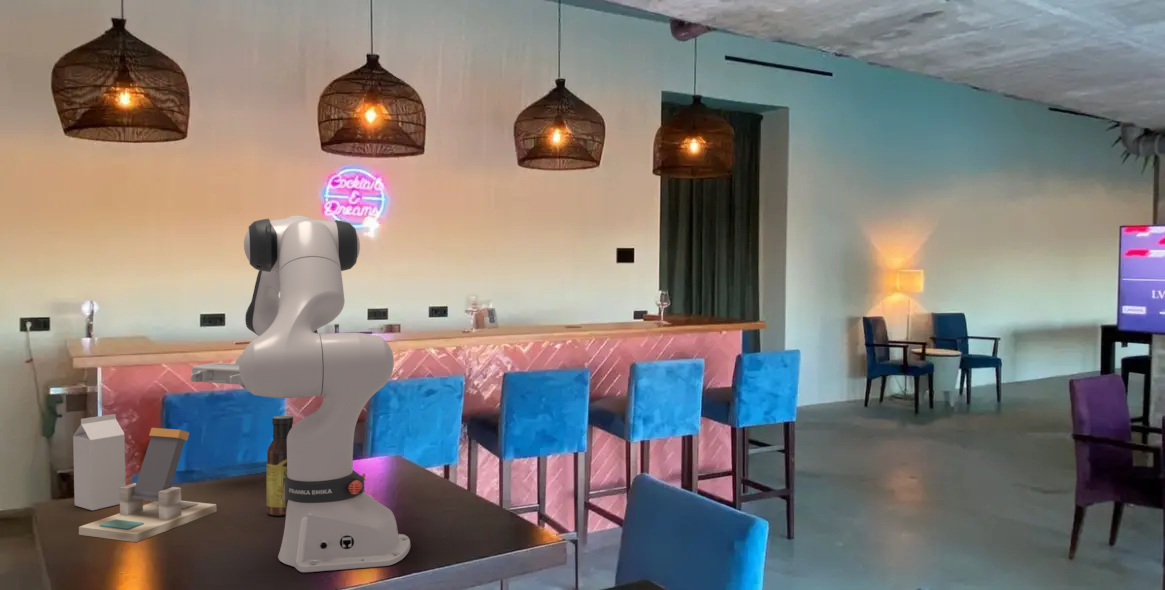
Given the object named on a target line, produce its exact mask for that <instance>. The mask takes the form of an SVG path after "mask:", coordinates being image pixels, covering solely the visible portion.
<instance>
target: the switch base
mask: <svg viewBox="0 0 1165 590" xmlns="http://www.w3.org/2000/svg"><path fill="white" fill-rule="evenodd" d="M136 483H137V482H133V483H130V484H126V486H123V487H120V504H119V513H116V514H114V515H110V516H107V517H105V518H104V517H103V518H101V519H98V520H96V521H92V522H89V523H86V524H83V525H81V526H78V535H79V536H86V537H95V538H100V539H109V540H117V541H124V542H131V543H138V542H141V541H144V540H146V539H149V538H151V537H154V536H156V535H159V534H162V533H164V532H167V531H169V530H172V529H174V528H178V527H180V526H183V525H186V524H188V523H191V522H194V521H196V520H198V519H201V518H203V517H206V516H209V515H211V514H214V513H216V512H217V510H218V509H217V504H216V503H208V502H207V503H206V502H200V501H199V502H197V501H188V500H182V488H181V487H176V486H171V488H168V489H165V490H162V491H159V492H158V496H159V502H157V501H151V502H149V503H145V504H144V503H143V502H144V500H139V499H134V498H132V495H133V492H134V489H135V486H136Z"/></svg>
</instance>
